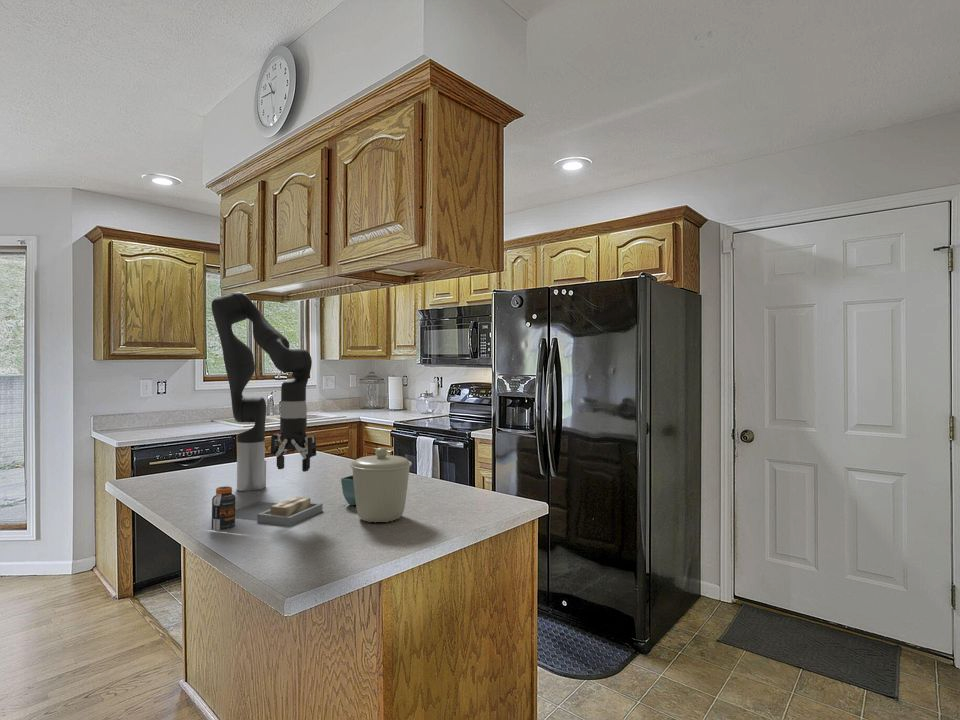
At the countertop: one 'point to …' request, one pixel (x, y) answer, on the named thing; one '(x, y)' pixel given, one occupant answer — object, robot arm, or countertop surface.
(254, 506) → the rubber mat
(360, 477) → the canister
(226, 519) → the pill bottle
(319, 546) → the countertop surface
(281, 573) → the countertop surface
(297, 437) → the robot arm
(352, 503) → the flower pot
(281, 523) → the slate tray
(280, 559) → the countertop surface
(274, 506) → the wooden block
